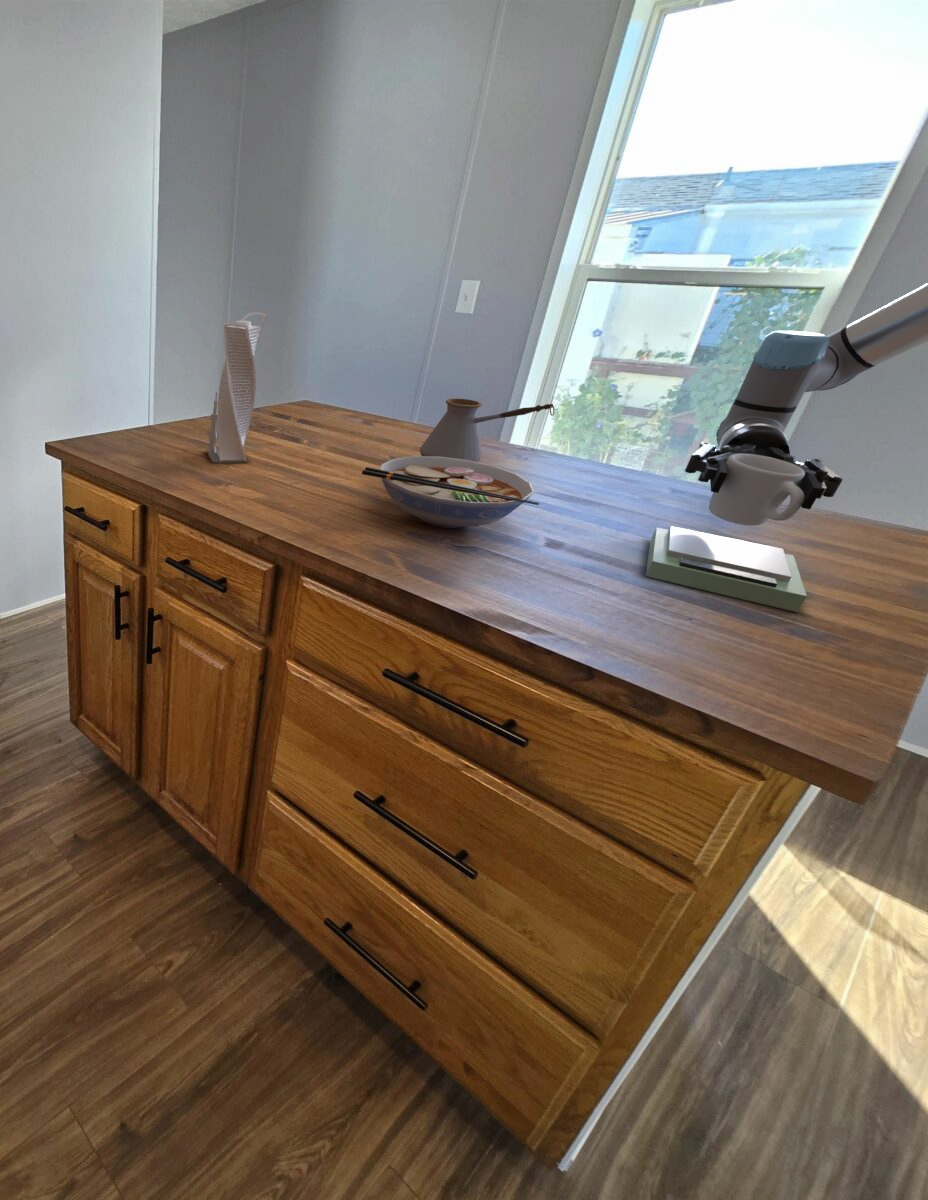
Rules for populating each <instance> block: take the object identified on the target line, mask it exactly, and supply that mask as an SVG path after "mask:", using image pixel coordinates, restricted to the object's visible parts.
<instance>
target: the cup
mask: <svg viewBox="0 0 928 1200" xmlns="http://www.w3.org/2000/svg"><path fill="white" fill-rule="evenodd" d="M726 465H727V471H728V474H727V476H726V478H725V480H724V482H723V484H722V486H721V488H720V490H719V492H718V493H716V492H713V493H712V494H711V496H710V500H709V503H708V510H709V512H710V513H711V514H712V515H713V516H714V517H717V518H719V519H721V520H723V521H726V522H728V523H729V522H730V523H733V524H736V525H741V526H751V527H752V526H759V525H763V524H765V523H766V522H767V521H769V520H772V521H777V522H778V521H779V522H781V521H787V520H789V519H791V518H792V517H794V515H796V514H797V513H798V512H799V511H800V509H802V507H801V506H802V504H803V502H804V493H803V491H802V490H801V489H800V488H799V487H798V486H797V484H798V483H799V482H800V481H801V479H802V478H803V477H804V475H805V471H804V470H803V469H802V468H800V467H798V466H796V465H794V464H791V463H789V462H785V461H782V460H779V459H775V458H771V457H766V456H761V455H754V454H733V455H731V456H729V458H728V460H727V462H726ZM789 496H790V497H789ZM788 497H789V498H790V500H789V503H788V505H787V506H786V508H785V509H784V510H783V511H782V512H779V511H778V509H779V508H780V507H781V506H782V504H783V503H784V502H785V500H787V498H788Z"/></svg>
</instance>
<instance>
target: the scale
mask: <svg viewBox="0 0 928 1200" xmlns="http://www.w3.org/2000/svg"><path fill="white" fill-rule="evenodd" d="M646 563H647V564H646V570H645V577H647V578H652V579H656V580H659V581H665V582H668V583H671V584H672V583H673V584H676V585H681V586H685V587H689V588H694V589H697V590H702V591H706V592H711V593H715V594H718V595H722V596H727V597H731V598H735V599H740V600H744V601H747V602H751V603H756V604H760V605H765V606H769V607H773V608H777V609H782V610H785V611H789V612H794V613H798V612H799V611H800V608H801V607H802V605H803V604H804V602H805V600H806V599H807V598H808V595H807V592H806V589H805V585H804V583H803V580H802V576H801V574H800V571H799V568H798V564H797V561H796V558H795V555H793V554H788V553H785V551H784V548H782V547H776V546H772V545H767V544H761V543H758V542H757V543H756V542H751V541H747V540H742V539H738V538H737V539H736V538H731V537H727V536H724V535H723V536H721V535H717V534H713V533H707V532H702V531H697V530H693V529H688V528H682V527H677V526H673V525H670V526H669V528H668V529H665V528H661V527H655V529H654V532H653V534H652V537H651V539H650V542H649V548H648V554H647V562H646Z"/></svg>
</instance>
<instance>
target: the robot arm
mask: <svg viewBox="0 0 928 1200" xmlns="http://www.w3.org/2000/svg"><path fill="white" fill-rule="evenodd" d="M927 342H928V282H927V283H925V284H923V285H922V286H920V287H918V288H916V289H914V290H912V291H910V292H908V293H907V294H905V295H903V296H900V297H899V298H896V299H894V300H893V301H892V302H889V303H888V304H886V305H884V306H882V307H880V308H878V309H876V310H874V311H872V312H870V313H869V314H866V315H865V316H862V317H861V318H859V319H857V320H855V321H853V322H851V323H850V324H848V325H847V326H844V327H842V328H840V329H838V330H836V331H834V332H833V333H830V334H828V335H827V334H823V333H819V332H811V331H799V330H774V331H771V332H770V333H768V334H767V335H766V336H765V337H764V339H763V341H762V343H761V344H760V346H759V348H758V350H757V351H756V352H755V353H754V355H753V360H752V362H751V364H750V366H749V369H748V370H747V373H746V374H745V377H744V378H743V379H744V380H743V381H742V384H741V386H740V388H739V390H738V393H737V394H736V397H735V399H734V401H733V402H732V405H731V407H730V409H729V411H728V413H727V415H726V417H724V418H723V420H722V421H721V422H720V424H719V427H718V429H717V431H716V440H715V441H716V444H717V445H714V444H712V443H710V442H708V441H701V442H700V444H699V446H698V448H697V450H696V451H694V452H693V453H692V454H691V456H690V458H689V461H688V463H687V465H686V467H685V469H684V472H685V473H687V474H695V473H697V472H699V473H700V474H699V477H698V478H697V481H698V482H701V483H708V482H709V485H710V492H711V493H712V492H716V493H718V492H719V490H720V488H721V486H722V484H723V482H724V480H725V478H726V476H727V474H728V471H727V465H726V462H727V460H728V458H729V456H731V455H733V454H754V455H761V456H766V457H771V458H775V459H779V460H782V461H785V462H789V463H791V464H794V465H796V466H798V467H800V468H802V469H803V470H804V471H805V475H804V477H803V478H802V479H801V481H800V482H799V483H798V484H797V486H798V487H799V488H800V489H801V490H802V491H803V493H804V502H803V504H802V506H801V509H806V510H811V508H812V507H813V506H814V504H815V502H816V500H817V499H818V500H820V499H822V497H825V498H833V497H834V496H835V494H836V493H837V491H838V489H839V487H841V484H842V482H843V480H844V478H843V477H842V476H840V475H839V474H837V473H836V472H835V471H833V470H832V469H830V468H828V467H827V466H826V465H825V464H824V463H823V461H824V460H822V459H820V458H811V459H805V461H804V462H801V461H797V458H796V457H795V456H794V455H791V447H790V443H789V441H788V438H787V436H786V434H785V430H786V429H787V426H788V424H789V423H790V421H791V419H792V417H793V415H794V413H795V412H796V409H797V407H798V405H799V404H800V402H801V400H802V399H803V396H804V394H805V393H809V392H817V391H818V392H819V391H828V390H833V389H835V388H837V387H840V386H843V385H845V384H847V383H849V382H851V381H852V380H854V379H855V378H856V377H858V375H860V374H862V373H864V372H867V371H868V370H870V369H872V368H873V367H876V366H878V365H880V364H882V363H884V362H886V361H888V360H891V359H893V358H895V357H897V356H899V355H901V354H903V353H906V352H908V351H910V350H913V349H914V348H917V347H918V346H920V345H922V344H925V343H927ZM717 447H718V448H717Z"/></svg>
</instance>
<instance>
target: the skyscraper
mask: <svg viewBox="0 0 928 1200" xmlns="http://www.w3.org/2000/svg"><path fill="white" fill-rule="evenodd" d="M250 316H251V317H252V316H263V318H262V321H261V323H260V325H252V321H250V320H246V319H247V318H248V317H250ZM267 317H268V315H267V314H266V313H265V312H262V311H251V312H248V313H247V314H245V315H243V316H242V318H241V319H240V320H236V321H235V322H227V323H225V324H224V325H223V339H224V340H223V341H224V355H225V359H224V362H223V365H222V366H223V367H222V370H221V376H220V380H219V387H218V391H215V398H214V401H213V411H212V413H211V415H210V418H211V419H210V427H209V428H210V430H209V435H208V440H209V441H208V447H207V450H206V454H207V455H208V457H209V459H210V461H211V463H213V464H219V463H221V464H223V463H225V464H227V463H229V464H230V463H232V464H233V463H237V464H238V463H239V464H240V463H242V464H243V463H247V458H246V457H247V456H246V453H245V449H244V448H245V444H246V442H247V441H246V440H247V438H248V434H249V432H250V431H249V430H250V426H251V422H252V417H253V412H254V408H255V400H256V390H257V389H256V388H257V386H256V385H257V378H256V375H257V374H256V365H255V356H256V352H257V348H258V345H259V341H260V337H261V334H262V330H263V327H264V324H265V322H266V319H267ZM217 440H218V441H217ZM217 442H218V447H217Z"/></svg>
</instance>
